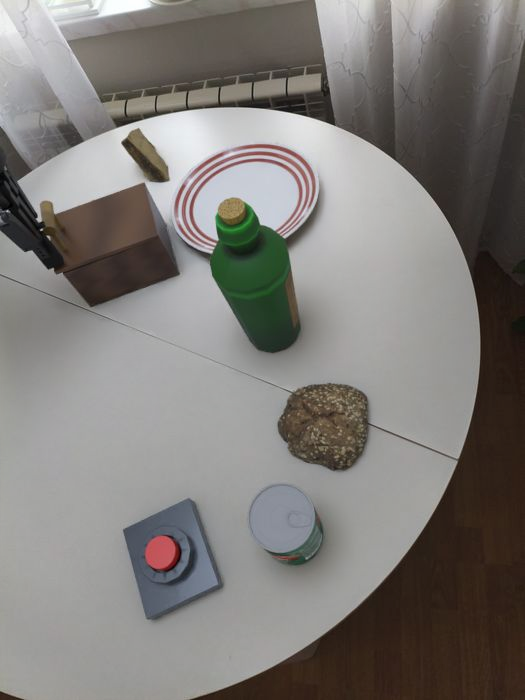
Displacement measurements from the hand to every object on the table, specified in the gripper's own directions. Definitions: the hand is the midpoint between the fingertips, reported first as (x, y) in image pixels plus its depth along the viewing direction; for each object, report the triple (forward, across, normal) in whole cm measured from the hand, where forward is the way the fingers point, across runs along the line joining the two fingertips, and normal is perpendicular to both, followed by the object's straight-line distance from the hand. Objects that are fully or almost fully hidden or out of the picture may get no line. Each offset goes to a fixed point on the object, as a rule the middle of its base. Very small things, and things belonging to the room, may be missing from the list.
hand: (55, 263), depth 89 cm
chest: (+11, +5, -9) cm, 15 cm away
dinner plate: (+11, +9, -33) cm, 36 cm away
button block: (+12, -47, -6) cm, 49 cm away
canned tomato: (+11, -50, -23) cm, 56 cm away
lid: (+1, +5, -8) cm, 10 cm away
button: (+8, -47, -6) cm, 48 cm away
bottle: (+11, -19, -30) cm, 37 cm away
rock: (+11, +28, -19) cm, 36 cm away
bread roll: (+11, -37, -31) cm, 49 cm away
